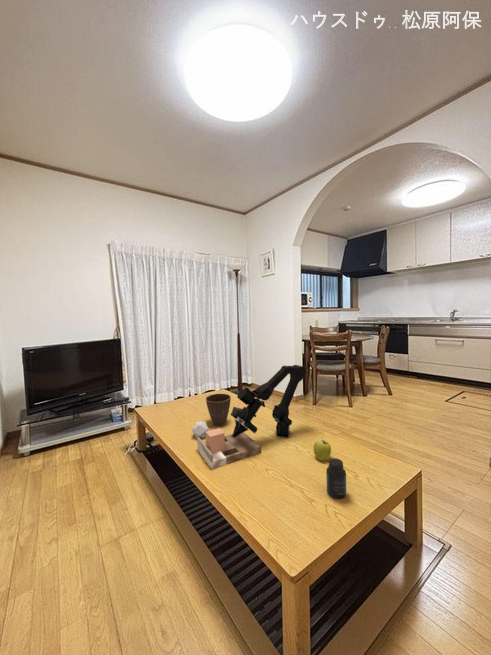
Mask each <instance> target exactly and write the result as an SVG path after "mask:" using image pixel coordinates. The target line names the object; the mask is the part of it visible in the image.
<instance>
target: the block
mask: <svg viewBox="0 0 491 655" xmlns="http://www.w3.org/2000/svg"><path fill="white" fill-rule="evenodd" d="M225 436H226V435H225V432H224V431H223V430H222V429H221V428H220V427H218V428H215V429H211V430H210V429H209V430H208V431H207V432H206V437H205V441H206V447H207V448H208V449H209V450H210V452H211V453H216V452H219V451H222V450H225Z"/></svg>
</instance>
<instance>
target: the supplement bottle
mask: <svg viewBox="0 0 491 655" xmlns="http://www.w3.org/2000/svg"><path fill="white" fill-rule="evenodd" d="M325 476H326V479H325V480H326V493H327V494H328V496H329V497H330V498H332V499H334V500H343V499H345V498H346V497H347V472H346V469H345V468H344V462H343V460H341V458H340V459H339V458H335V457H333V458H330V459H328V466H327V468H326V475H325Z"/></svg>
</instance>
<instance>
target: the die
mask: <svg viewBox="0 0 491 655" xmlns="http://www.w3.org/2000/svg"><path fill="white" fill-rule="evenodd" d="M191 431H192V433H193V436H194V438H195V439H197V438H198V437H199V438H200V439H204V438H205V439H206V432H207V431H209V427H208V425H207V422H206V421H195V423H194V425H193V426H192V430H191Z"/></svg>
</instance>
